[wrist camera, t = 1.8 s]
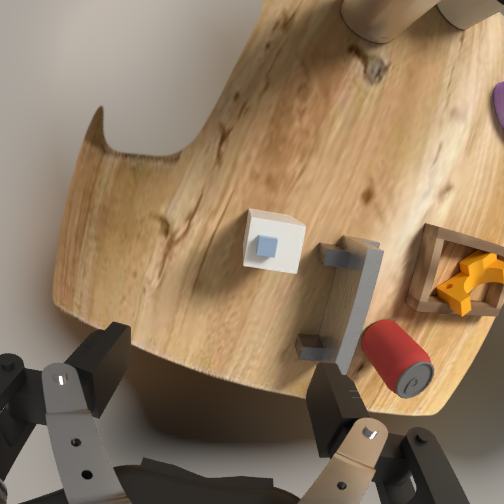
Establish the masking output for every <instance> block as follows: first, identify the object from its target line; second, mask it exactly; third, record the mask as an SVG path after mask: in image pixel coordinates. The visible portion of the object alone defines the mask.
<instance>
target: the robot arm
mask: <svg viewBox="0 0 504 504" xmlns="http://www.w3.org/2000/svg"><path fill="white" fill-rule="evenodd" d="M440 1H441V0H344V1H343V3H342V6H341V14H342V17H343V19H344V21H345V23H346V24H347V26H348V27H349V28H350V29H351V30H352V31H354V32H355V33H356V34H357V35H359V36H361V37H362V38H364V39H366V40H369V41H372V42H375V43H387V42H390V41H392V40H393V39H394V38H396V37H397V36H398V35H399V34H400V33H401V32H403V31H404V30H405V29H406V28H408V27H409V26H410V25H411V24H412V23H414V22H415V21H416V20H417V19H418V18H420V17H421V16H422V15H423V14H425V13H426V12H427V11H428V10H430V9H431V8H432V7H433V6H435V5H436V4H437V3H439V2H440ZM130 358H131V328H130V326H128V325H125V324H121V323H117V322H112V323H111V324H110V325H109V326H108V328H107V329H106V330H105V331H104V330H101V329H99V330H97V331H95V332H93V333H91V334H90V335H89V336H88V337H87V338H86V339H85V341H84V342H82V344H81V345H80V346H79V347H78V348H77V349H76V350H75V351H74V352H73V354H72V355H71V356H70V357H69V358H68V359H67V360H66V361H65V362H64V363H53V364H51V365H48V366H47V367H45V368H44V370H43V371H38V370H32V369H27V368H25V367H24V363H23V360H22V359H21V358H20V357H19V356H17V355H15V354H9V353H8V354H7V353H6V354H1V355H0V412H1V411H2V412H1V413H0V504H6V503H7V502H6V500H7V488H6V486H5V484H4V483H3V482H4V480H5V478H6V476H7V474H8V472H9V471H10V469H11V467H12V465H13V463H14V462H15V460H16V458H17V456H18V454H19V453H20V451H21V449H22V447H23V446H24V444H25V442H26V441H27V439H28V437H29V436H30V434H31V432H32V431H33V429H34V428H35V426H36V424H41V425H47V427H48V431H49V436H50V441H51V445H52V450H53V454H54V457H55V461H56V465H57V468H58V472H59V475H60V478H61V482H62V485H63V489H60V490H58V491H55V492H52V493H49V494H47V495H44V496H41V497H38V498H35V499H32V500H29V501H26V502H23V503H19V504H360V502H361V500H362V497H363V496H364V494H365V492H366V490H367V488H368V486H369V484H370V482H371V481H372V482H375V484H376V487H377V490H378V494H379V498H380V501H381V504H470V503H469V501H468V499H467V497H466V495H465V493H464V491H463V489H462V487H461V485H460V483H459V481H458V479H457V477H456V475H455V473H454V471H453V469H452V467H451V465H450V463H449V461H448V460H447V458H446V456H445V454H444V452H443V450H442V448H441V446H440V445H439V443H438V441H437V439H436V438H435V436H434V435H433V434H432V433H431V432H430V431H428V430H427V429H424V428H420V427H415V428H412V429H410V430H409V431H408V432H407V434H406V435H405V436H401V435H396V434H391V433H388V430H387V428H386V427H385V426H384V425H383V424H382V423H381V422H380V421H378V420H375V419H372V418H370V416H369V414H368V412H367V409H366V407H365V405H364V403H363V401H362V399H361V398H360V395H359V393H358V392H357V388H356V386H355V384H354V382H353V381H352V380H351V379H350V378H349V377H348V376H346V375H342V373H341V371H340V369H339V367H338V365H337V364H336V363H328V362H319V363H318V364H317V366H316V369H315V372H314V374H313V377H312V379H311V382H310V385H309V387H308V390H307V394H306V402H307V406H308V411H309V415H310V419H311V423H312V428H313V431H314V436H315V440H316V444H317V448H318V453H319V457H320V458H326V457H330V461H329V463H328V464H327V466H326V467H325V469H324V470H323V471H322V473H321V474H320V475H319V477H318V478H317V479H316V481H315V482H314V483H313V485H312V486H311V487H310V488H309V490H308V491H307V492H306V494H305V495H304V496H303V497H302V499H300V498H298V497H297V496H295V495H293V494H292V493H289V492H287V491H285V490H282V489H279V488H276V487H273V478H257V477H245V476H237V477H222V478H206V477H203V476H200V475H197V474H195V473H192V472H189V471H187V470H185V469H182V468H180V467H178V466H175V465H172V464H167V463H163V462H159V461H155V460H151V459H148V458H143V460H142V463H141V465H123V466H117V467H112V465H111V463H110V460H109V458H108V456H107V453H106V451H105V449H104V447H103V444H102V441H101V439H100V436H99V433H98V431H97V428H96V425H95V423H94V420H93V417H96V418H100V416H101V415H102V413H103V411H104V409H105V408H106V406H107V404H108V402H109V400H110V399H111V397H112V395H113V393H114V392H115V390H116V388H117V386H118V385H119V383H120V381H121V380H122V378H123V376H124V374H125V372H126V371H127V369H128V367H129V363H130ZM4 407H5V408H4ZM3 408H4V409H3ZM92 416H93V417H92ZM412 475H413V478H414V481H415V483H416V488H417V489H416V492H415V490H414V487H413V485H412V482H411V479H410V477H411V476H412Z"/></svg>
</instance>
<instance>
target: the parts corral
mask: <svg viewBox="0 0 504 504" xmlns="http://www.w3.org/2000/svg"><path fill="white" fill-rule="evenodd" d="M444 240H447V241H451V242H454V243H458V244H462V245H466V246H469V247H473V248H476V249H480V250H484V251H487V252H491V253H494V254H497V255H498V256H497V259H498V260H500V261H503V262H504V247H502V246H500V245H496V244H493V243H490V242H487V241H484V240H481V239H478V238H475V237H471V236H468V235H465V234H461V233H458V232H455V231H451V230H448V229H444V228H441V227H437V226H434V225H430V224H426V223H425V227H424V232H423V236H422V241H421V245H420V249H419V254H418V258H417V262H416V266H415V269H414V273H413V277H412V280H411V284H410V287H409V291H408V294H407V297H406V301H405V303H407V304H408V305H409V306H410V307H412V308H413V309H414V310H415V311H420V312H432V313H446V314H457V313H456V312H454V311H453V310H451V309H450V304H449V303H447V302H445V301H444V300H442V299H441V298H439V297H438V296H430V292H431V289H432V285H433V282H434V278H435V275H436V271H437V267H438V264H439V260H440V256H441V252H442V247H443V243H444ZM503 299H504V284H502V283H499V282H491V283H490V286H489V289H488V293H487V296H486V299H485V302H483V301H474V300H470V302H471V311H469V312H468V313H467V314H465V315H477V316H496V317H497V316H498V314H499V311H500V308H501V306H502V303H503Z"/></svg>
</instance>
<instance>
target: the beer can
mask: <svg viewBox="0 0 504 504" xmlns="http://www.w3.org/2000/svg"><path fill="white" fill-rule="evenodd" d="M362 349H363V351H364V353H365V355H366V356H367V357H368V359H369V360H370V362H371V363H372V365H373V366H374V368H375V369H376V371H377V372H378V374H379V375H380V377H381V378H382V380H383V381H384V383H385V384H386V386H387V387H388V388H389V389H390V390H391V391H393V392H394V393H396V394H398V396H400V397H401V398H411V397H414V396H416V395H418V394H420V393H421V392H422V391H424V390H425V389H426V388H427V387H428V385H429V384H430V382H431V381H432V378H433V376H434V367H433V365H432V364H431V361H430V358H429V356H428V354H427V353H426V352H425V351H424V350H423V349H422V348H421V347H420V346H419V345H418V344H417V343H416V342H415V341H414V340H413V339H412V338H411V337H410V336H409V335H408V334H407V333H406V332H405V331H404V330H403V329H402V328H401V327H400V326H399V325H398V324H397V323H395V322H394V321H392V320H380V321H378V322H376V323H374V324H373V325H371V326H370V327H369V328H368V329H367V331H366V332H365V334H364V336H363V339H362Z"/></svg>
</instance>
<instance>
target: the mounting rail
mask: <svg viewBox="0 0 504 504" xmlns="http://www.w3.org/2000/svg"><path fill="white" fill-rule="evenodd" d="M379 245H380V243H379V242H376V241H371V240H366V239H361V238H355V237H350V236H345V235H343V240H342V245H341V246H335V245H329V244H324V243H319V248H318V252H317V257H316V258H317V259H318V260H319V261H320V262H321V263H322V264H323V265H326V266H333V267H336V271H335V275H334V280H333V284H332V288H331V292H330V296H329V300H328V303H327V307H326V311H325V315H324V318H323V322H322V326H321V329H320V333H319V336H312V335H301V334H298V337H297V341H296V345H295V348H296V351H297V354H298V357H299V360H313V361H314V362H315V364H316V366H317V364H318V363H319V362H328V363H336V364H337V365H338V367H339V369H340V371H341V373H342V375H346V374H347V371H348V368H349V366H350V363H351V360H352V357H353V355H354V352H355V349H356V346H357V343H358V340H359V337H360V334H361V331H362V328H363V325H364V322H365V319H366V316H367V312H368V309H369V306H370V302H371V299H372V295H373V292H374V288H375V285H376V281H377V277H378V273H379V270H380V266H381V262H382V257H383V253H384V251H383V250H381V249H379Z"/></svg>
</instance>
